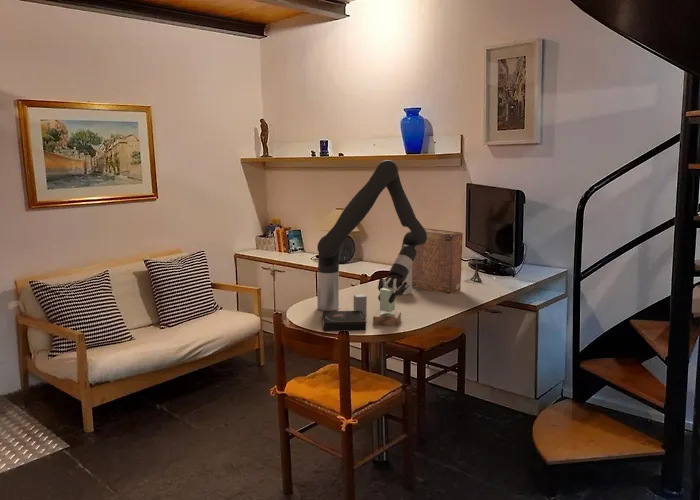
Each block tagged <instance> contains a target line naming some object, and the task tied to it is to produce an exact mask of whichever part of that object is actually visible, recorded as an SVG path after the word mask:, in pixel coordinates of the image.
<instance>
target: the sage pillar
mask: <svg viewBox="0 0 700 500" xmlns="http://www.w3.org/2000/svg"><path fill="white" fill-rule="evenodd" d="M393 290H394V289H393V288H388V286H387V287H386V288H382V289H380V291H379V294H380V301H379V310H381V311H386V312H390V311H395V310H396V299H395V300H394V302H392V303H389V301H388V300H389V298H390V296H391V294H392V293H393Z"/></svg>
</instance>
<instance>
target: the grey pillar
mask: <svg viewBox="0 0 700 500" xmlns="http://www.w3.org/2000/svg"><path fill="white" fill-rule="evenodd" d="M367 302H368V301H367V296H366V295H365V294H364V293H361V294H360V293H359V294H353V311H362V313H363V316H364V318H367Z"/></svg>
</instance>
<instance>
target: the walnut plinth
mask: <svg viewBox="0 0 700 500" xmlns="http://www.w3.org/2000/svg"><path fill="white" fill-rule="evenodd" d="M400 320H402V311H395V310H393V311H390V312H386V311H381V310H380V309H377V310H376V312H375V313H374V315H373V317H372V325H373V326H382V327H394V328H398V326H399V324H400V323H401V321H400Z"/></svg>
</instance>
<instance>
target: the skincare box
mask: <svg viewBox="0 0 700 500" xmlns="http://www.w3.org/2000/svg"><path fill="white" fill-rule="evenodd" d="M393 263H394V262H392V263H391V266H392V265H393ZM404 282H407V283H408V285H409V287H408V288H407V289H406V290H405V291H404V293H403V294H402V295H404V296H406V294H407V295H410V294H413V286H412V266H411V269H410V271H409V273H408V275H407V277H406V279H405V281H404ZM401 286H402V285H401ZM401 286H400V287H401ZM400 287H399V288H400Z"/></svg>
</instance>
